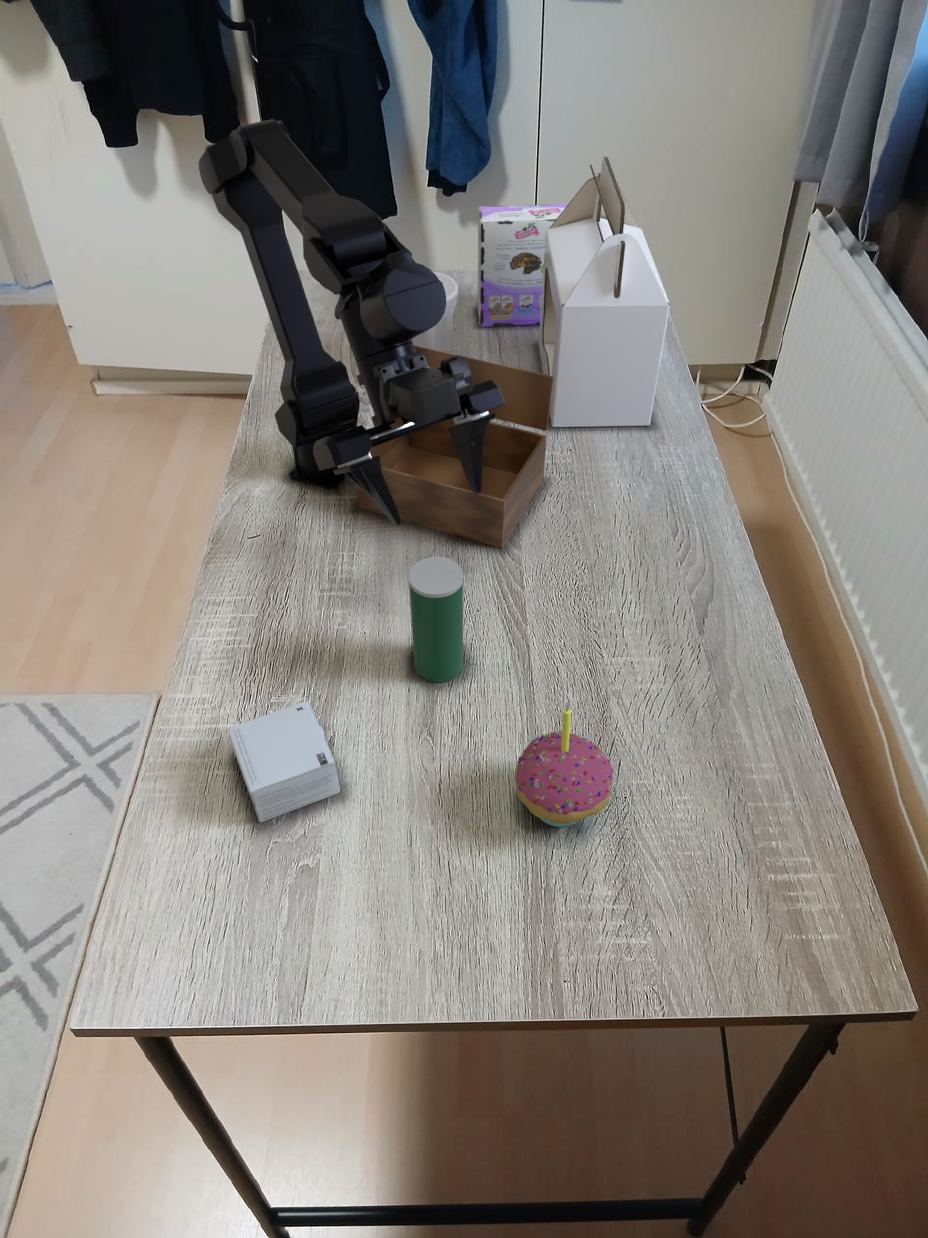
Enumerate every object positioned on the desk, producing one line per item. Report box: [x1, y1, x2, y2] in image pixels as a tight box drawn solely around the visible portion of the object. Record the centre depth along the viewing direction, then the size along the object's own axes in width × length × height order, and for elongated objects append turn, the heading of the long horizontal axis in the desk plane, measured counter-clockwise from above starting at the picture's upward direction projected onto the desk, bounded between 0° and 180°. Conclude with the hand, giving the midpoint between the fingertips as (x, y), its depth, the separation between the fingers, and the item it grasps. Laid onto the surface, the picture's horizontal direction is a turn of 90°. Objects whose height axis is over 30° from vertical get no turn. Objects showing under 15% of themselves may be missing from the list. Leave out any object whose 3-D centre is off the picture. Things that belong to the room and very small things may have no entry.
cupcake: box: [514, 701, 615, 828], centre depth 79 cm, size 9×8×12 cm
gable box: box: [538, 156, 671, 428], centre depth 122 cm, size 22×13×28 cm, turn 1°
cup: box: [412, 271, 459, 353], centre depth 129 cm, size 10×10×13 cm
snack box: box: [355, 418, 548, 549], centre depth 112 cm, size 19×14×7 cm
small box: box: [227, 700, 341, 823], centre depth 83 cm, size 8×8×5 cm
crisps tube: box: [407, 556, 464, 683], centre depth 90 cm, size 5×5×12 cm
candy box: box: [477, 203, 569, 328], centre depth 139 cm, size 14×6×16 cm, turn 93°
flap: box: [414, 345, 554, 432], centre depth 111 cm, size 19×7×1 cm
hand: (438, 508), depth 91 cm, fingers open, 9 cm apart
